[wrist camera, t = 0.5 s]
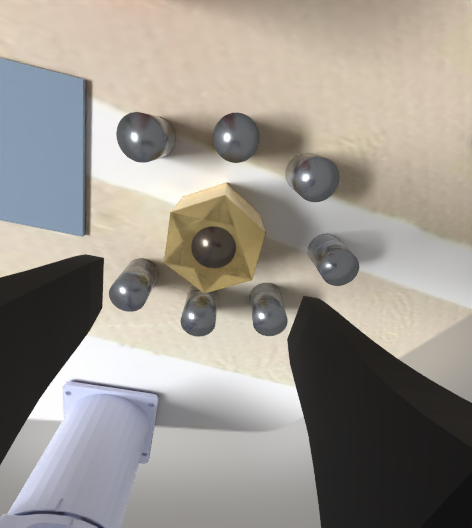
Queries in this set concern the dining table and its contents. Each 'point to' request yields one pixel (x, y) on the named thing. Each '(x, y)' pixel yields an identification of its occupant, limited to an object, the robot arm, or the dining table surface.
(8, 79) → the mat
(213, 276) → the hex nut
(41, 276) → the robot arm
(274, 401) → the dining table surface
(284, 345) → the dining table surface
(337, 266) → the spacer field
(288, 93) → the dining table surface
